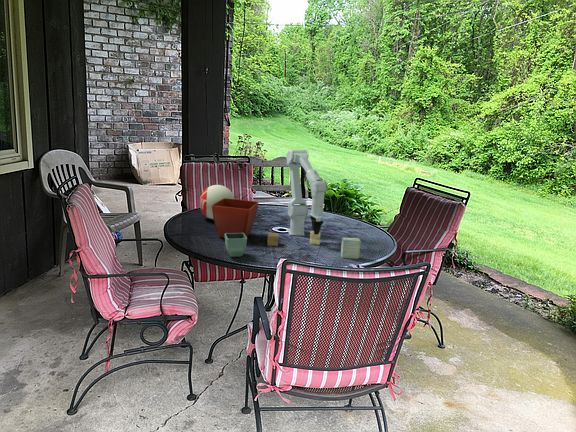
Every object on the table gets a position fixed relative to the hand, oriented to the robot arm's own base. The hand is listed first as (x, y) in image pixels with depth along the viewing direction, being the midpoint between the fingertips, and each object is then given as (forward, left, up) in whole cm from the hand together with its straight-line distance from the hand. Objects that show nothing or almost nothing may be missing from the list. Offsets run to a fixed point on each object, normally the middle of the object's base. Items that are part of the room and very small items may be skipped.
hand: (315, 232), depth 232 cm
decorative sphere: (-38, -52, -6) cm, 65 cm away
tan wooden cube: (+5, -21, -6) cm, 22 cm away
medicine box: (+20, +14, -6) cm, 25 cm away
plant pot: (-7, -40, -6) cm, 41 cm away
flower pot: (+24, -38, -6) cm, 45 cm away
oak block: (0, 0, -6) cm, 6 cm away
